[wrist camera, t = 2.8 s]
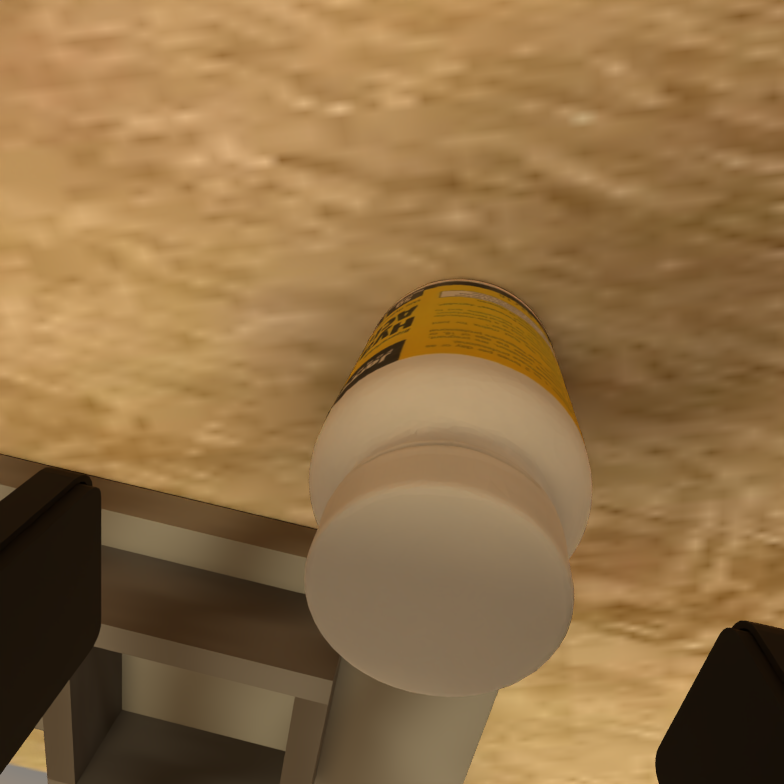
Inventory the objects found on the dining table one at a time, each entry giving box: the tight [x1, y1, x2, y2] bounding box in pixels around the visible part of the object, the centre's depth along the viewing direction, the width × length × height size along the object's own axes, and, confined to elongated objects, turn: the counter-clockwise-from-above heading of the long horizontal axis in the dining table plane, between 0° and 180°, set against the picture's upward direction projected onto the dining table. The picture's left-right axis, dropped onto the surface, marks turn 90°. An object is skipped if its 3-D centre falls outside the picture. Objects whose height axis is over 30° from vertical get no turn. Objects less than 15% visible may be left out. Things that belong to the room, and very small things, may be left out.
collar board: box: [0, 454, 499, 784], centre depth 21 cm, size 20×12×4 cm, turn 79°
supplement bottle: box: [304, 279, 592, 697], centre depth 13 cm, size 5×5×10 cm
